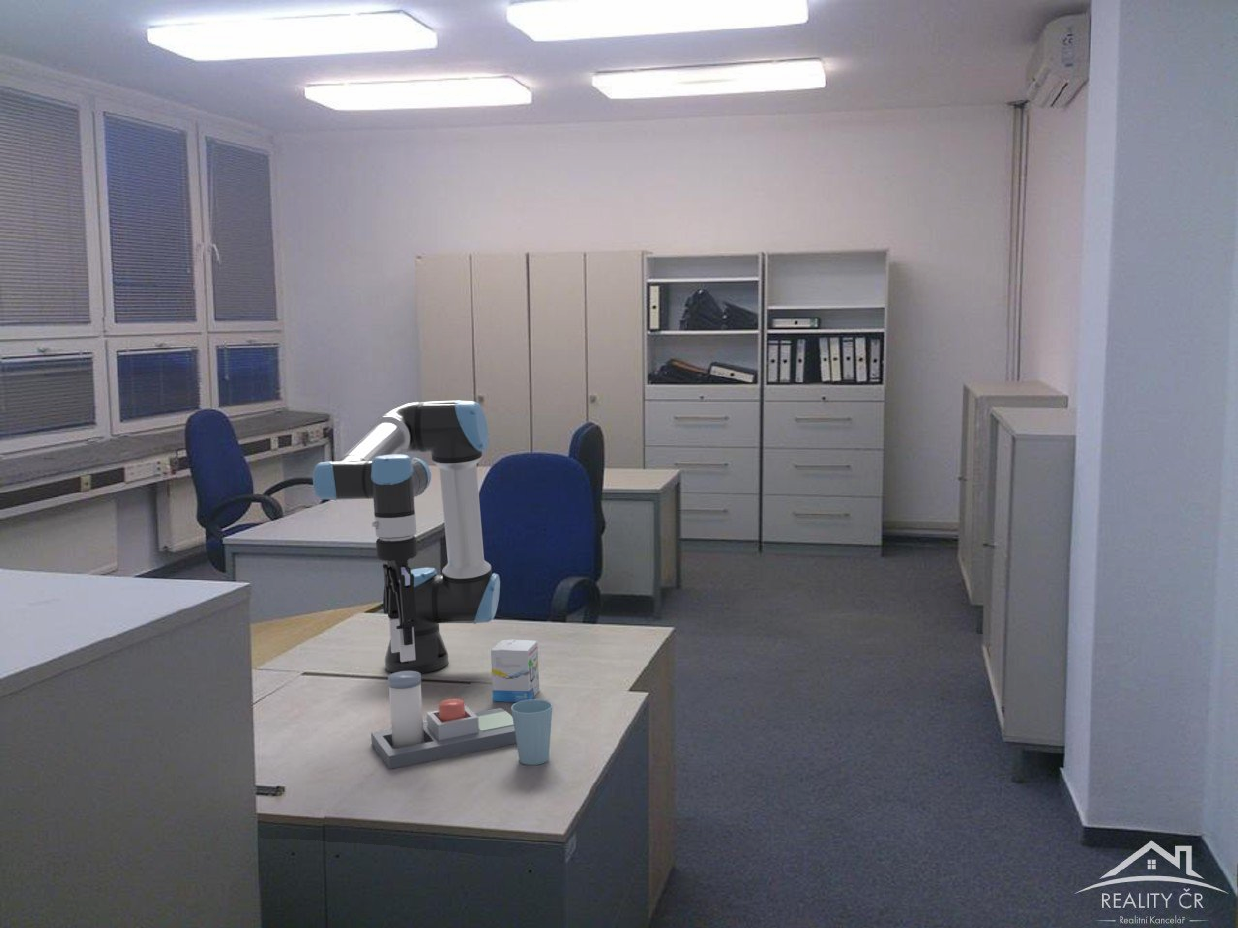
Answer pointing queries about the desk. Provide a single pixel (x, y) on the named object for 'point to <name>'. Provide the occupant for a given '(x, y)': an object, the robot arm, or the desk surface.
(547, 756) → the cup
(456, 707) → the plunger
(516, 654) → the ink box
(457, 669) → the desk surface
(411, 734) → the cartridge
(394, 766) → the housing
